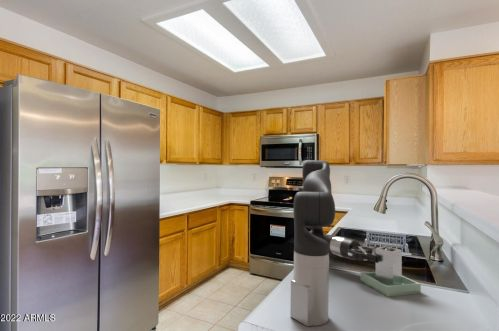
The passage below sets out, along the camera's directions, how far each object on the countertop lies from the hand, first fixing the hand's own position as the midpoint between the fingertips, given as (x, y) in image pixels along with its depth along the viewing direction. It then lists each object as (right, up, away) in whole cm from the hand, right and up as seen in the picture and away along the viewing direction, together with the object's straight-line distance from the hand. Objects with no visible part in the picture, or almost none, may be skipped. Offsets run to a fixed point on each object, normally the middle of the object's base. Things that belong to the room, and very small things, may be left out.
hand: (385, 257), depth 95 cm
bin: (+1, -10, -2) cm, 10 cm away
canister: (0, -9, -1) cm, 9 cm away
